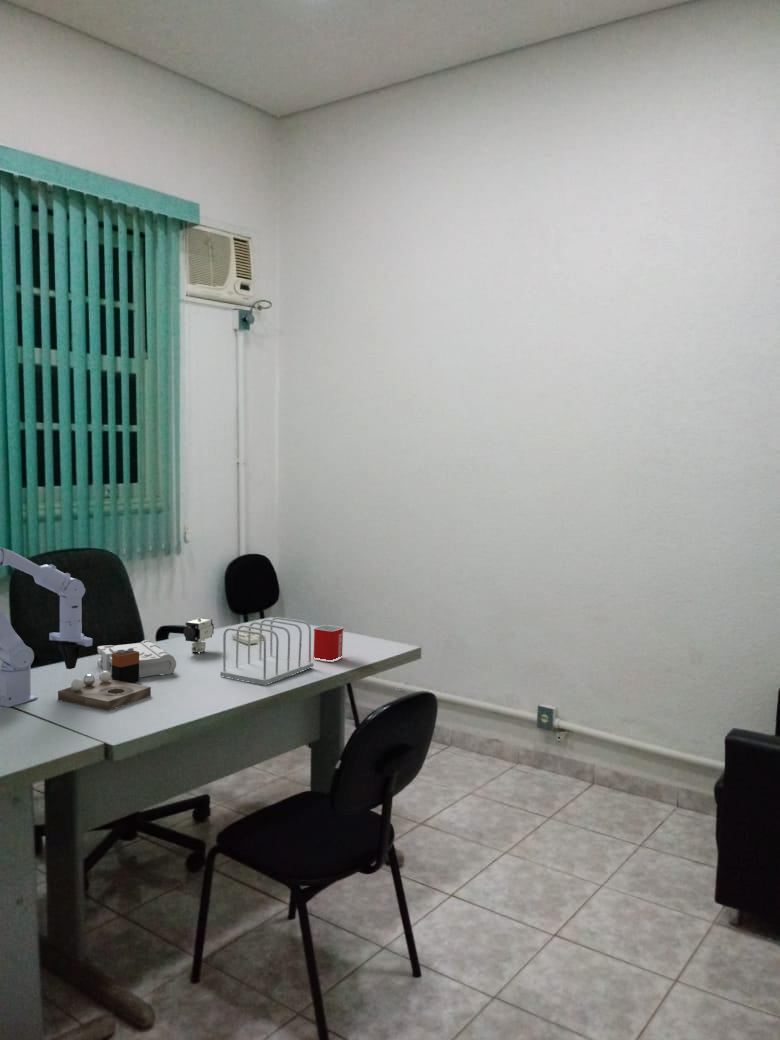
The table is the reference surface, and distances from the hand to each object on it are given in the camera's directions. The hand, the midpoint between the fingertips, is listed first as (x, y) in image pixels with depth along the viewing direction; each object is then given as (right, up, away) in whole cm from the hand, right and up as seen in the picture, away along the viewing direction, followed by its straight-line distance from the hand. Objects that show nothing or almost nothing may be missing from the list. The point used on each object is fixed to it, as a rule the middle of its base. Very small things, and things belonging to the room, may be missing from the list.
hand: (70, 668), depth 233 cm
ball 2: (+9, -3, +1) cm, 10 cm away
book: (+9, -5, +28) cm, 30 cm away
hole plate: (+11, -7, -5) cm, 14 cm away
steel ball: (+6, -3, -3) cm, 7 cm away
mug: (+70, -5, +47) cm, 84 cm away
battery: (+12, -6, +10) cm, 17 cm away
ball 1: (+5, -3, -8) cm, 10 cm away
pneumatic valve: (+25, -4, +49) cm, 55 cm away
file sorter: (+51, -7, +26) cm, 58 cm away
